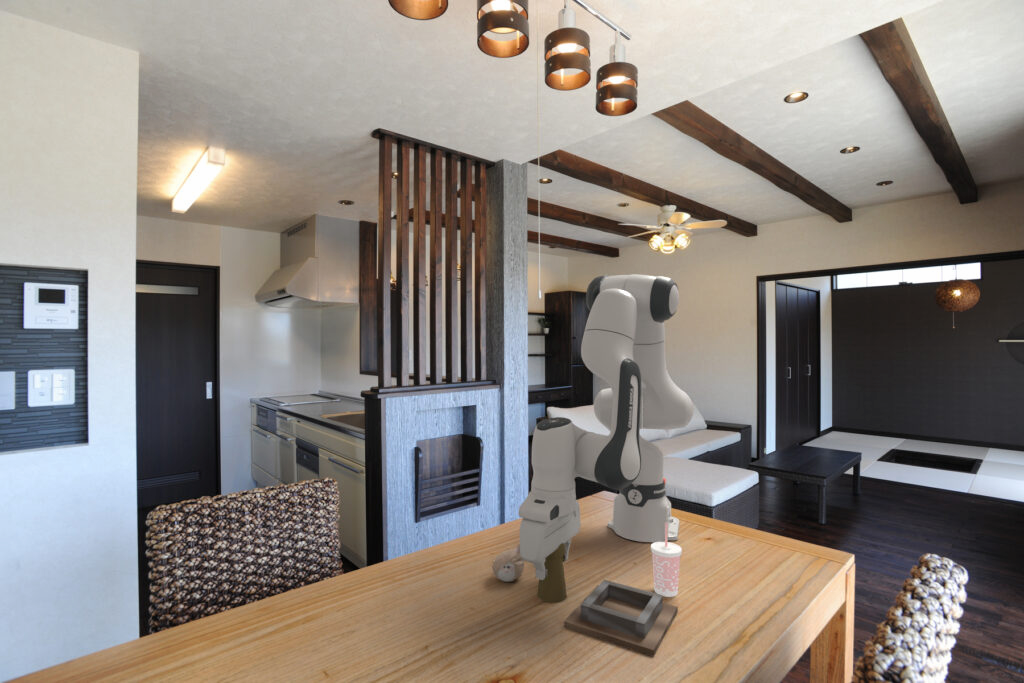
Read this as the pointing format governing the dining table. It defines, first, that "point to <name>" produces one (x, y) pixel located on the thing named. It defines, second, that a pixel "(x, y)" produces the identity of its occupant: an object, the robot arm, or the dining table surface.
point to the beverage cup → (666, 566)
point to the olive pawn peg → (553, 578)
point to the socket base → (624, 616)
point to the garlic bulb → (508, 565)
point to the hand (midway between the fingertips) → (552, 568)
